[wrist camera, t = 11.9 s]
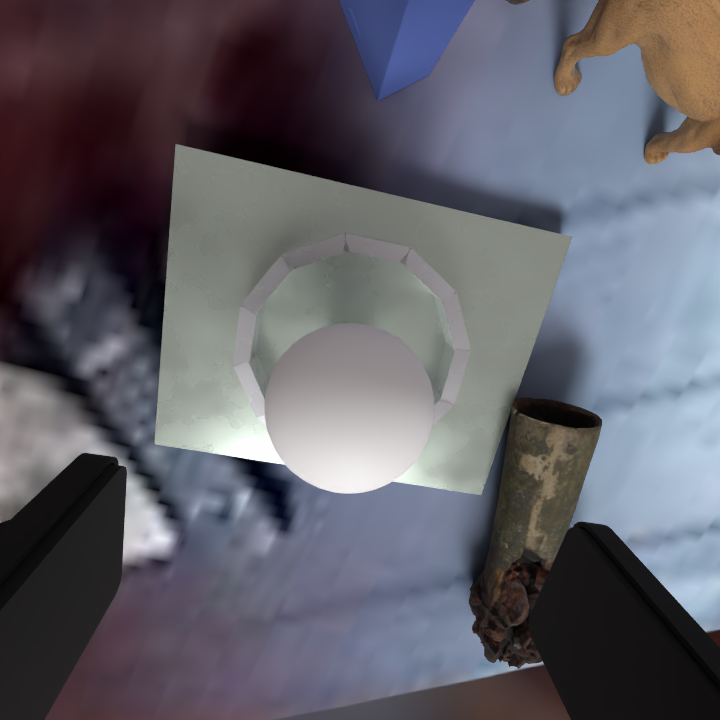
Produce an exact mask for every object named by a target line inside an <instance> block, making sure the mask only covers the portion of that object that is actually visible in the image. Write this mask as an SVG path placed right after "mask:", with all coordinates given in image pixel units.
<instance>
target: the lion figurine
mask: <svg viewBox="0 0 720 720" xmlns="http://www.w3.org/2000/svg"><path fill="white" fill-rule="evenodd" d="M506 1H508V2H509V3H511V4H514V5H517V4H520V3H524V2H527V1H529V0H506ZM630 44H637V45H638V46H639V47H640V49H641V57H642V62H643V67H644V70H645V74H646V78H647V80H648V82H649V84H650V85H651V87H652V88H653V89H654V91H655V92H656V94H657V95H658V96H659V97H660V98H661V99H662V100H663V101H665V102H666V103H667V104H669V105H670V106H672V107H673V108H675V109H676V110H678V111H679V112H681V113H683V114H685V115H686V116H687V118H686V119H685V120H684V122H683V123H682V124H681V126H680V127H679V128H678V129H677V130H674V131H672V132H664V133H658V134H656V135H654V137H653V138H652V140H650V141H649V142H648V143H647V145H646V147H645V152H644V158H645V160H646V162H647V163H649V164H654V163H659V162H660V161H662V160H664V159H665V158H666V157H668V154H669V152H678V153H691V152H696V151H699V150H701V149H704V148H712V149H713V151H714V153H716V154H717V155H720V0H599V1H598V3H597V5H596V7H595V9H594V11H593V13H592V15H591V17H590V19H589V21H588V23H587V24H586V26H585V28H584V29H583V30H582V31H580V32H579V33H577V34H574V35H571V36H569V37H568V38H567V39H566V40H565V41H564V44H563V48H562V53H561V58H560V61H559V64H558V66H557V69H556V72H555V77H554V84H555V88H556V90H557V92H558V93H559V94H560V95H569V94H570V93H572V92H573V91H574V90H575V89H576V88H577V86H578V84H579V83H580V81H581V79H582V75H581V73H580V71H579V69H578V68H577V67H576V65H575V64H576V63H577V61H578V60H580V59H582V58H587V57H594V56H608V55H611V54H613V53H615V52H617V51H618V50H620V49H622V48H624V47H626V46H628V45H630Z"/></svg>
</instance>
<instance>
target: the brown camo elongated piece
mask: <svg viewBox="0 0 720 720" xmlns="http://www.w3.org/2000/svg"><path fill="white" fill-rule="evenodd" d="M601 426H602V420H601V418H600V417H599V416H598V415H596V414H594V413H592V412H590V411H588V410H585V409H583V408H580V407H577V406H573V405H570V404H566V403H562V402H558V401H553V400H546V399H532V398H521V399H518V400H515V401H514V403H513V406H512V410H511V417H510V423H509V431H508V437H507V444H506V450H505V457H504V464H503V471H502V478H501V485H500V492H499V499H498V503H497V508H496V513H495V519H494V525H493V530H492V537H491V542H490V548H489V552H488V557H487V561H486V566H485V569H484V570H483V571H482V573H481V574H480V576H479V578H478V579H477V580H476V581H475V582H474V584H473V585H472V587H471V588H470V591H471V594H470V598H469V604H470V607H471V610H472V612H473V614H474V615H475V616H476V621H475V622H474V624H473V627H472V630H473V633H476V634H477V635H478V636H479V637H480V639H481V643H482V644H483V646H484V656H485V657H486V658H487V660H488V661H490V662H492V663H494V662H496V660H497V659H499V661H500V662H501V661H502V660H503V661H504V662H508V664H509V667H510V666H515V667H517V668H518V669H519V668H520V667H521V666H522V665H523V664H525V663H528V664H531V663H539V662H542V659H541V656H540V654H539V652H538V650H537V648H536V646H535V644H534V642H533V640H532V638H531V635H530V632H529V625H528V623H529V617H530V614H531V612H532V610H533V608H534V605H535V603H536V601H537V598H538V596H539V594H540V592H541V589H542V587H543V585H544V582H545V580H546V578H547V576H548V573H549V571H550V569H551V566H552V564H553V562H554V559H555V557H556V555H557V553H558V550H559V548H560V546H561V543H562V541H563V539H564V537H565V534H566V532H567V531H568V529H569V525H570V522H571V519H572V517H573V514H574V511H575V508H576V505H577V501H578V498H579V495H580V492H581V489H582V486H583V483H584V480H585V477H586V474H587V471H588V468H589V465H590V462H591V459H592V456H593V453H594V450H595V448H596V445H597V442H598V439H599V435H600V431H601Z"/></svg>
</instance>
